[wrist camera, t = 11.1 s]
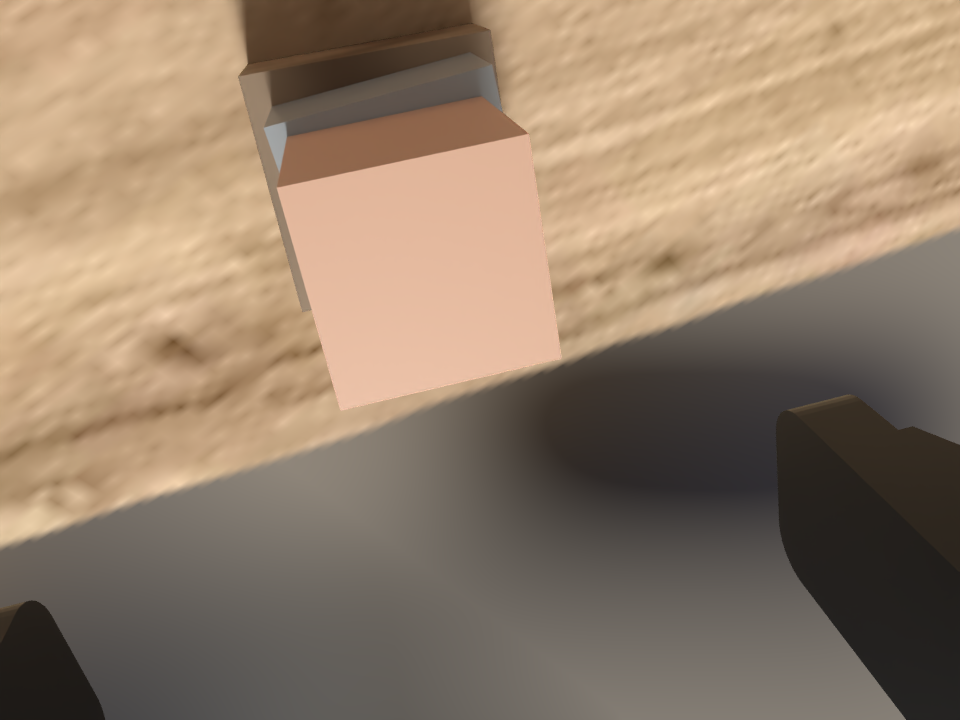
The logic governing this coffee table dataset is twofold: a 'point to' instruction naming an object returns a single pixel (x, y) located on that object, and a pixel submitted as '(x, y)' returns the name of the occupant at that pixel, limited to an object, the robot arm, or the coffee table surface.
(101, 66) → the coffee table surface
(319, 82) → the tower base block
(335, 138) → the terracotta block
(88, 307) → the coffee table surface
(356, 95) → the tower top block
